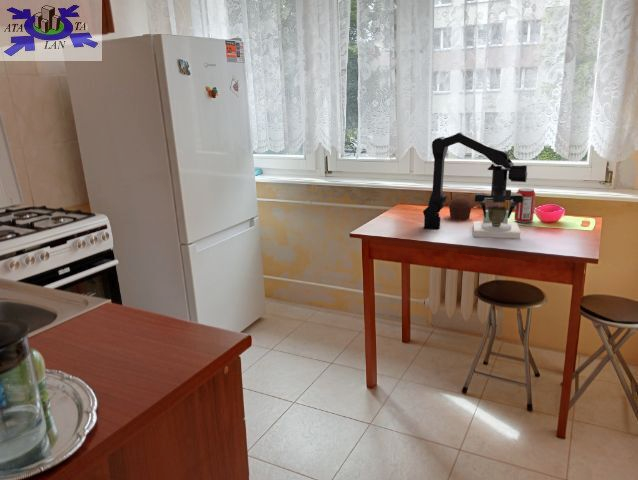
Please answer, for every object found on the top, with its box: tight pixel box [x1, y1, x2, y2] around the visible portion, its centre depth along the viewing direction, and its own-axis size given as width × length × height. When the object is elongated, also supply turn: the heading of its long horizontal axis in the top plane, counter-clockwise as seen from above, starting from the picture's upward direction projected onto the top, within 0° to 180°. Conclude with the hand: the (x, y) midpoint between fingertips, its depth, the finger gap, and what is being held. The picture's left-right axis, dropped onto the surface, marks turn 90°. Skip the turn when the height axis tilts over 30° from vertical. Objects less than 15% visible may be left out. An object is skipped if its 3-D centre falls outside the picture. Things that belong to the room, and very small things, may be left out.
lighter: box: [485, 193, 502, 210], centre depth 235 cm, size 8×3×10 cm, turn 58°
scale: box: [472, 210, 521, 239], centre depth 207 cm, size 18×16×8 cm
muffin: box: [447, 196, 474, 221], centre depth 232 cm, size 12×11×10 cm
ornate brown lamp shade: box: [488, 205, 508, 227], centre depth 204 cm, size 8×7×8 cm
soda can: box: [514, 187, 536, 224], centre depth 220 cm, size 8×8×15 cm
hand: (496, 217), depth 204 cm, fingers open, 9 cm apart
